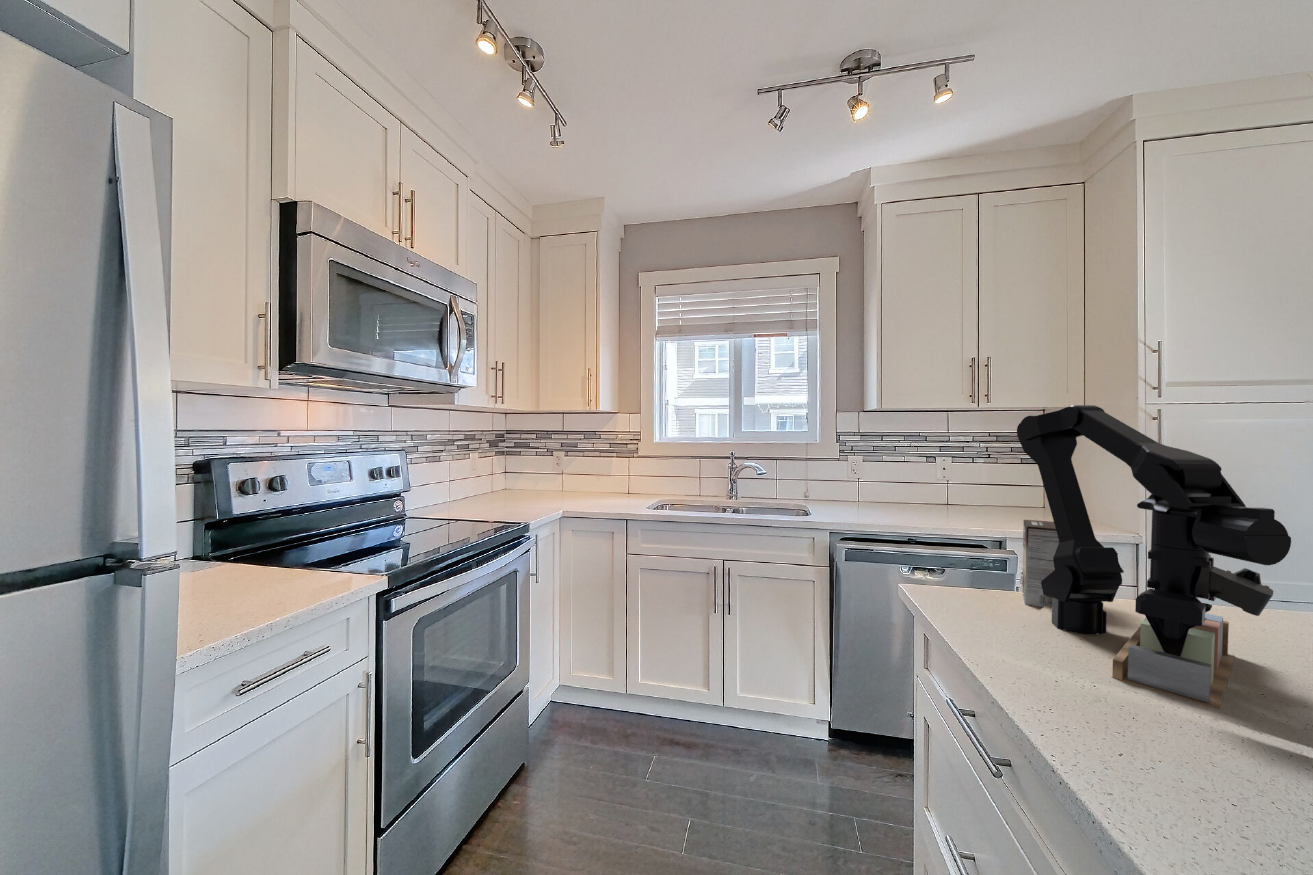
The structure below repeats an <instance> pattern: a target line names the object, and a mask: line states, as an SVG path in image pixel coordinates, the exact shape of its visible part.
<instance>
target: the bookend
mask: <svg viewBox="0 0 1313 875" xmlns="http://www.w3.org/2000/svg"><path fill="white" fill-rule="evenodd" d="M1128 680H1131V681H1134V682H1137V683H1141V684H1144V685H1148V686H1151V687H1155V688H1158V689H1162V690H1165V691H1168V692H1172V693H1175V694H1179V695H1182V696H1186V697H1189V698H1193V699H1196V700H1199V701H1203V702H1206V703H1209V701H1210V689H1211V664H1208V663H1204V662H1200V661H1196V660H1192V659H1188V658H1184V657H1180V656H1176V655H1172V654H1168V653H1164V652H1160V651H1156V650H1152V649H1148V648H1144V647H1140V646H1136V645H1132V644H1131V645H1130V646H1129V649H1128Z"/></svg>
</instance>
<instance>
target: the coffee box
mask: <svg viewBox="0 0 1313 875" xmlns="http://www.w3.org/2000/svg"><path fill="white" fill-rule="evenodd" d="M1022 532H1023V533H1022V535H1023V536H1022V537H1023V538H1022V579H1021V581H1022V582H1021V583H1022V584H1021V585H1022V588H1021V590H1022V591H1021V592H1022V596H1023V601H1024V604H1025V605H1027V606H1033V607H1038V608H1039V607H1040V608H1045V607H1046V606H1047V605H1048V606H1049V604H1051V605H1052V597H1050V596H1048V595H1045V594H1044V593H1043V590H1042V585H1041V581H1042V580H1043V579H1045V578H1046V577H1047V576H1048V575H1049V574H1050V573H1052V572H1053V571H1054V570H1055V568H1054V561H1053V557H1054V554H1055V552H1056V549H1057V547H1058V544H1059V538H1058V535H1057V531H1056V528H1055V524H1054V521H1046V520H1038V519H1037V520H1036V519H1035V520H1034V519H1033V520H1032V519H1023V530H1022ZM1023 593H1024V594H1023Z"/></svg>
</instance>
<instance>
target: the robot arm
mask: <svg viewBox="0 0 1313 875" xmlns="http://www.w3.org/2000/svg"><path fill="white" fill-rule="evenodd" d="M1016 435H1017V439H1018V441H1019V443H1020V445H1021V448H1022V451H1023V452H1024V453H1025V455H1027V456H1028V457H1029V458H1030V459H1032V461H1034V462H1035V463H1036V465H1037V467H1038V470H1039V473H1040V474H1039V475H1040V477H1041V478H1040V479H1041V480H1042V484H1043V488H1044V491H1045V495H1046V498H1047V502H1048V506H1049V508H1050V510H1049V511H1050V513H1051V517H1052V520H1053V521H1052V522H1054V524H1055V528H1056V531H1057V535H1058V538H1059V544H1058V547H1057V549H1056V552H1055V554H1054V557H1053V561H1054V568H1055V570H1054V571H1053V572H1052V573H1050V574H1049V575H1048V576H1047V577H1046V578H1045V579H1043V580H1042V581H1041V585H1042V590H1043V593H1044V594H1045V595H1048V596H1050V597H1052V604H1051V624H1053V626H1054V627H1055V628H1056V629H1058V630H1062V631H1065V632H1069V633H1074V634H1079V635H1089V636H1090V635H1091V636H1092V635H1093V636H1095V635H1107V626H1108V625H1107V624H1108V623H1107V621H1108V620H1107V619H1108V618H1107V617H1108V612H1107V611H1106V610H1104V602H1107V603H1112V602H1114V599H1115V597H1116V594H1117V593H1118V590H1119V588H1120V586H1122V585H1123V577H1122V574H1124V573H1125V571H1124V570H1123V568H1122V566H1121V565H1120V562H1119V557H1118V551H1116V550H1115V547H1113V546H1111V547H1105V546H1104V545H1103V544H1101V543H1100V541H1099V540H1097V539H1096V536H1095V533H1094V529H1093V526H1092V524H1091V520H1090V516H1089V513H1088V510H1087V506H1086V503H1085V499H1084V497H1083V493H1082V491H1081V487H1080V484H1079V481H1078V480H1079V479H1078V477H1077V474H1076V470H1075V468H1074V464H1073V460H1072V459H1073V455H1074V453H1075V450H1076V448H1077V446H1078V440H1077V438H1079V437H1083V436H1084V438H1086V439H1088V440H1090V441H1091V442H1093V443H1094V444H1096V446H1097V445H1098V446H1099V447H1100V448H1102V449H1103V450H1105V451H1107V452H1108V453H1109V454H1111V455H1113V456H1114V457H1116V458H1117V459H1118V460H1121V461H1122V462H1123V463H1125V464H1126V465H1127V466H1128V467H1129V468H1130V469H1131V473H1132V474H1131V475H1132V477H1133V479H1135V480H1136V481H1137V482H1138V483H1139V484H1140V485H1141V486H1142V487H1143V488H1144V489H1146V491H1147V492H1149V493H1150V495H1149V496H1148V497H1146V498H1145V499H1144V500H1142V501H1141V500H1140V502H1138V503H1137V504H1136V507H1137V508H1138V509H1141V510H1147V511H1148V510H1149V511H1151V532H1150V533H1151V534H1150V535H1151V536H1150V550H1148V551H1147V559H1149V560H1150V568H1149V569H1150V570H1149V578H1148V579H1147V580H1146V588H1148V589H1146V590H1144V591H1143V592H1141V593H1140V594H1139V595H1138V596H1136V598H1135V610H1134V611H1135V613H1138V614H1140V615H1144V616H1145V618H1147V620H1148V622H1149V624H1150V625H1151V627H1152V629H1153V631H1154V633H1155V635H1156V637H1157V639H1158V641H1159V643H1160V645H1161V647H1162V649H1163V651H1164V653H1168V654H1172V655H1176V656H1180V657H1181V654H1182V651H1183V648H1184V644H1185V641H1186V638H1187V635H1188V631H1189V629H1190V628H1193V627H1195V626H1202V625H1203V623H1204V622H1205V620H1206V618H1205V613H1208V612H1211V609H1212V608H1213V605H1212V604H1210V603H1205V602H1202V601H1200V600H1199V599H1204V600H1208V601H1211V602H1215V601H1216V599H1219V600H1222V601H1223V602H1226V603H1228V604H1230V605H1232V606H1235V607H1237V608H1239V609H1241V610H1242V611H1243V612H1245V613H1247V614H1250V615H1252V616H1256V617H1259V616H1260V615H1261V613H1262V612H1263V610H1264V609H1265V608H1266V607H1267V605H1268V603H1269V602H1270V600H1271V598H1272V597H1273V596H1274V590H1273V589H1272V588H1270V586H1269V585H1267V584H1266V585H1264V584H1262V580H1261V574H1260V573H1259V572H1257V571H1254V570H1252V569H1249V568H1246V567H1245V568H1242V569H1240V570H1238V571H1235V572H1232V571H1231V570H1229V569H1227V570H1224V569H1222V568H1218V567H1216V566H1214V562H1215V558H1214V557H1211V556H1212V555H1217V556H1222V557H1226V558H1230V559H1231V558H1232V559H1236V560H1239V561H1243V562H1244V561H1245V562H1248V563H1249V562H1250V563H1253V564H1257V565H1262V566H1273V565H1276V564H1278V563H1281V561H1283V560H1284V559H1285V558H1286V557H1287V555H1288V554H1289V552H1290V549H1291V545H1292V537H1291V535H1289V532H1288V530H1287V528H1286V527H1285V526H1284V525H1283V524H1282V522H1281V521H1278V520H1277V519H1275V515H1276V512H1275V510H1274V509H1273V508H1269V507H1268V508H1267V507H1247V506H1246V504H1245V502H1243V500H1242V498H1241V497H1240V495H1238V493H1236V491H1235V489H1234V488H1233V487H1232V486H1231V484H1230V483H1229V482H1228V480H1227V479H1226V478H1225V477H1224V475H1223V474H1222V467H1221V466H1220V465H1219V463H1217V462H1216V461H1215V460H1214V459H1211V458H1210V457H1207V456H1204V455H1202V454H1198V453H1194V452H1192V451H1189V450H1185V449H1180V448H1176V447H1173V446H1169V445H1168V446H1167V445H1165V444H1162V443H1160V442H1158V441H1156V440H1154V439H1153V438H1151V437H1149V436H1147V435H1145V434H1144V433H1142V432H1140V431H1138V430H1137V429H1134V428H1133V427H1131V426H1130V425H1128V424H1126V423H1124V422H1123V421H1121V420H1119V419H1117V418H1116V417H1114V416H1112V415H1110V414H1109V413H1107V412H1106V411H1105V410H1104V409H1103V408H1102V407H1099V406H1097V405H1094V404H1093V405H1092V404H1091V405H1089V404H1087V405H1086V404H1083V405H1082V404H1081V405H1078V404H1076V405H1075V404H1074V405H1070V406H1066V407H1063V408H1061V409H1059V410H1055V411H1050V412H1046V413H1042V414H1038V415H1027V416H1025V417H1024V418H1022V420H1021V421H1020V423H1018V425H1017V427H1016ZM1211 554H1212V555H1211Z"/></svg>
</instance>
